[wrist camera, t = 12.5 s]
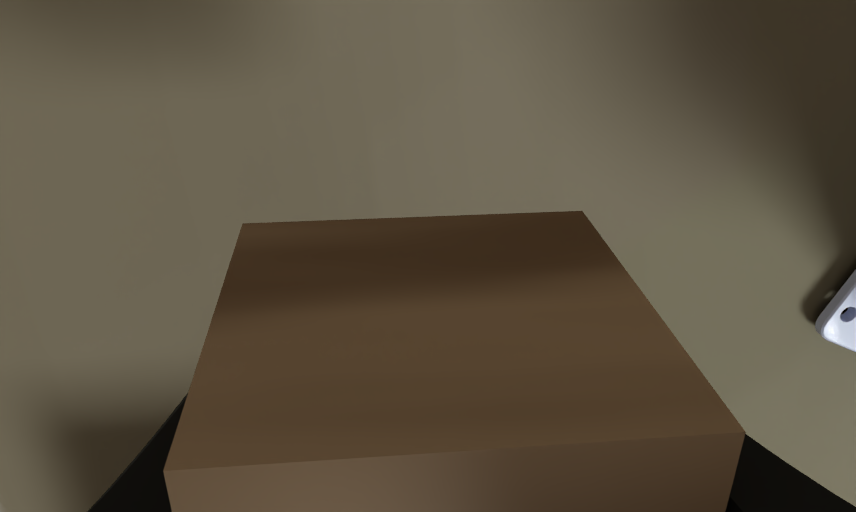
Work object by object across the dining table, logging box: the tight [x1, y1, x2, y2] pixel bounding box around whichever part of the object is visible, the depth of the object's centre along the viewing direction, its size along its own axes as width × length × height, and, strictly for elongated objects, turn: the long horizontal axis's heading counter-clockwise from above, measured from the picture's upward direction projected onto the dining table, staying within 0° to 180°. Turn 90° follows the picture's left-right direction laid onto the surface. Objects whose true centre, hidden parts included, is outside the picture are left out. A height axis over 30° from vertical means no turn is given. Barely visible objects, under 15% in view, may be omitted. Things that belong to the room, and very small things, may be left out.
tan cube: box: [163, 211, 746, 512], centre depth 9 cm, size 5×5×5 cm
